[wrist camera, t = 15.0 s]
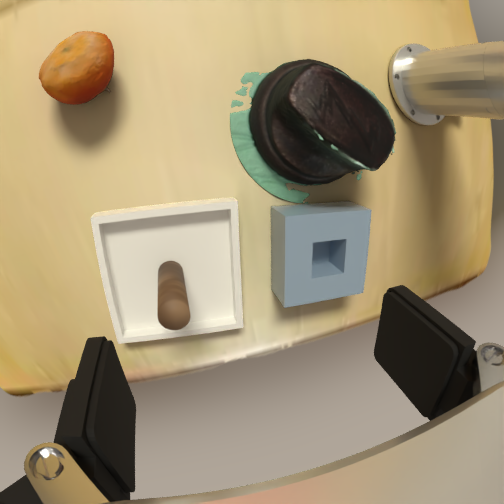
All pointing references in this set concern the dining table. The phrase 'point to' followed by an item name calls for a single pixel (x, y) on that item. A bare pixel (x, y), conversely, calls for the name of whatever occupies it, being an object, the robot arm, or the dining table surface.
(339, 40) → the dining table surface
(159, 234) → the tray
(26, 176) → the dining table surface
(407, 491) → the robot arm
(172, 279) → the pin
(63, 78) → the fruit
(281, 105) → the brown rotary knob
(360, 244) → the holder
